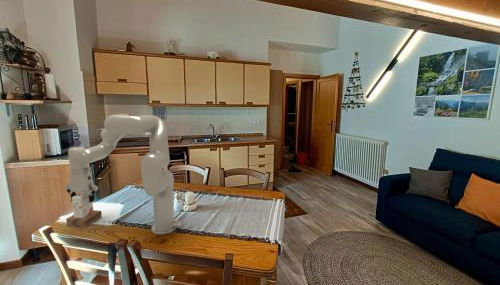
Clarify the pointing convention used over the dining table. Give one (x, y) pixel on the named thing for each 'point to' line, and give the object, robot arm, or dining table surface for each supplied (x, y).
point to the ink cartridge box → (81, 205)
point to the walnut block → (84, 219)
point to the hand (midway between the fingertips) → (83, 201)
